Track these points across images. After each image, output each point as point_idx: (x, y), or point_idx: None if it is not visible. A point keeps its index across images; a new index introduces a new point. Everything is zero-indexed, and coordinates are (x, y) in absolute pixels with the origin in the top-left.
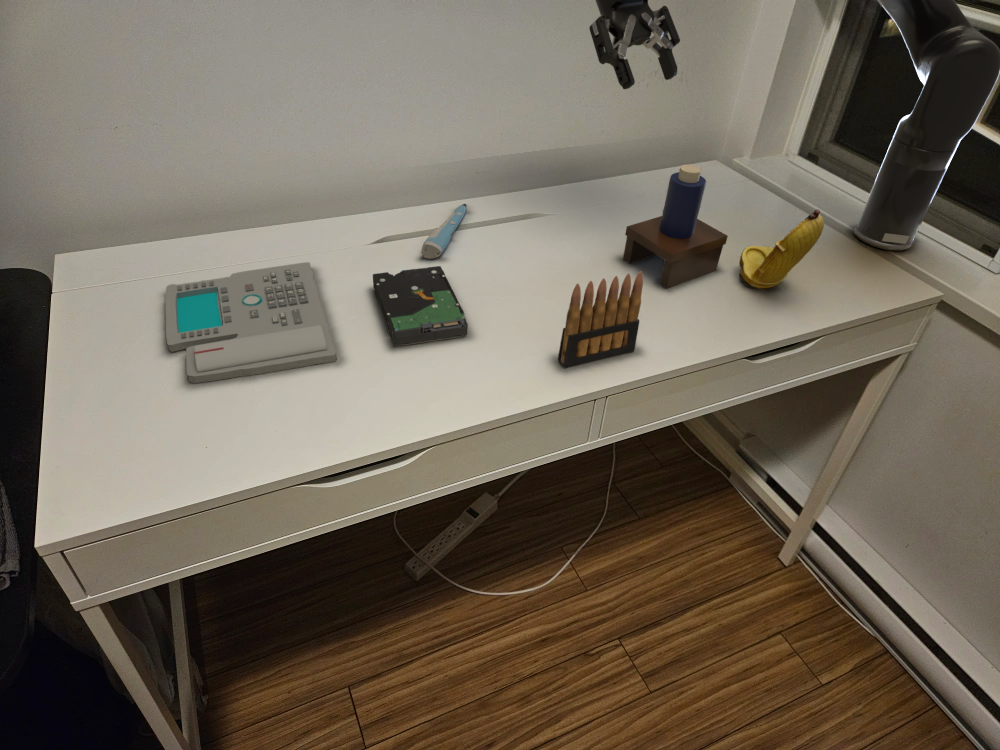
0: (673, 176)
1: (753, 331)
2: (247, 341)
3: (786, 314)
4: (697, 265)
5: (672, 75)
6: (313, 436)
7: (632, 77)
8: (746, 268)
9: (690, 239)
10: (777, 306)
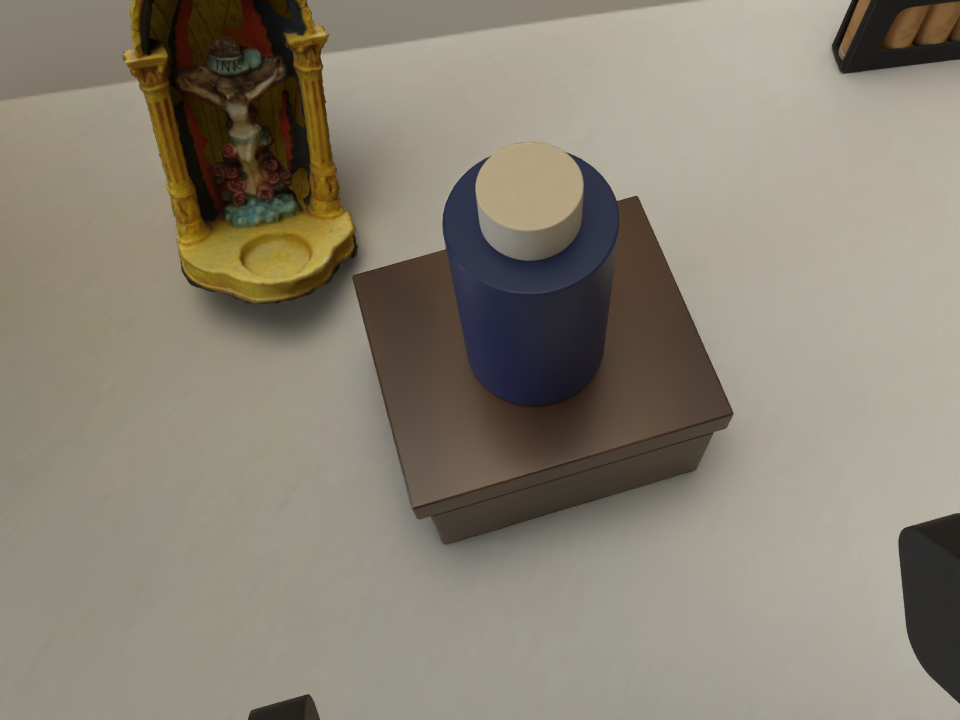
0: (594, 250)
1: (472, 65)
2: None
3: (333, 109)
4: None
5: (316, 716)
6: None
7: (956, 538)
8: (338, 233)
9: None
10: (331, 142)
